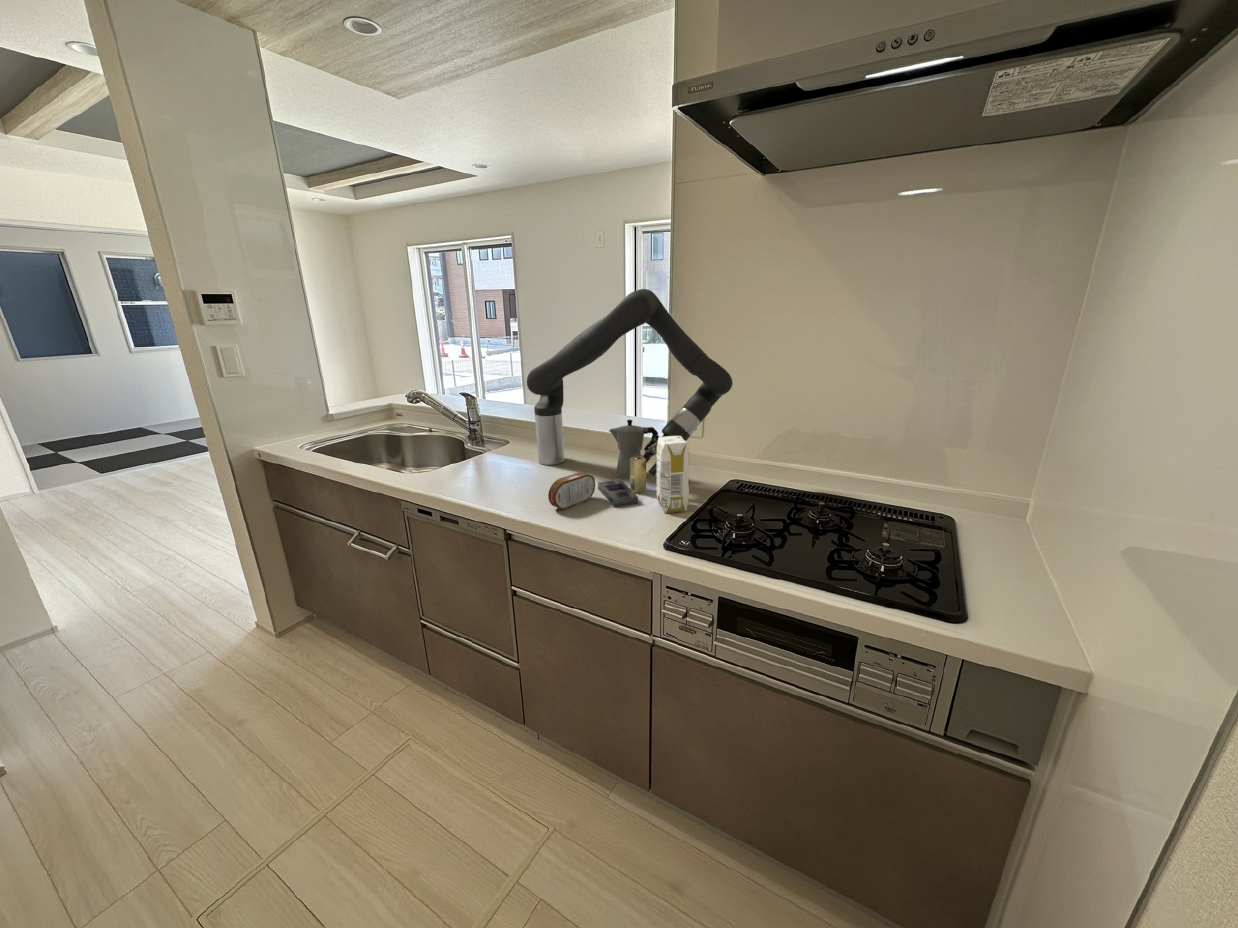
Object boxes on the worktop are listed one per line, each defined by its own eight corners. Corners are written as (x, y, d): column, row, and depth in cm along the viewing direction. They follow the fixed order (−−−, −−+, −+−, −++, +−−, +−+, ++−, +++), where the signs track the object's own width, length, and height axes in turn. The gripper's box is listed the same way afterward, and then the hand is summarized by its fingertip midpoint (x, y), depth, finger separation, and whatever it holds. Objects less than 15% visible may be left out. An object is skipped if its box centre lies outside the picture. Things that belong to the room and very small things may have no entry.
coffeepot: (608, 478, 153) (606, 423, 147) (612, 469, 162) (610, 416, 156) (657, 479, 151) (657, 423, 146) (658, 469, 160) (658, 416, 154)
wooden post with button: (629, 489, 144) (628, 457, 141) (642, 487, 145) (642, 455, 142) (633, 493, 141) (633, 460, 137) (647, 491, 142) (647, 458, 139)
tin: (590, 495, 140) (589, 467, 138) (597, 498, 138) (596, 470, 136) (548, 510, 130) (546, 481, 128) (555, 514, 128) (553, 484, 126)
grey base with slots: (598, 488, 145) (597, 482, 144) (620, 485, 147) (620, 479, 146) (614, 507, 132) (614, 500, 131) (638, 503, 134) (638, 496, 133)
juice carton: (662, 515, 126) (662, 445, 120) (654, 502, 134) (654, 436, 128) (690, 512, 127) (692, 442, 121) (681, 500, 135) (682, 434, 129)
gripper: (662, 414, 146) (628, 455, 146) (684, 424, 133) (645, 469, 133) (678, 429, 149) (644, 469, 149) (700, 440, 136) (663, 484, 136)
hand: (645, 469), depth 141 cm, fingers open, 8 cm apart
